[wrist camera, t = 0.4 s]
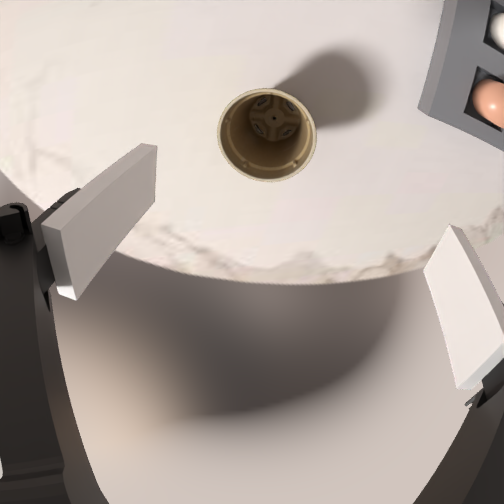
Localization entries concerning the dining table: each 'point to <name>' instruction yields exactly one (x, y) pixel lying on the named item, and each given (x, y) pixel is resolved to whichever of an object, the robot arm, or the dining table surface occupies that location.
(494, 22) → the ivory key
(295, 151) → the flower pot
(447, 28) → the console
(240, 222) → the dining table surface
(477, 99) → the terracotta key
